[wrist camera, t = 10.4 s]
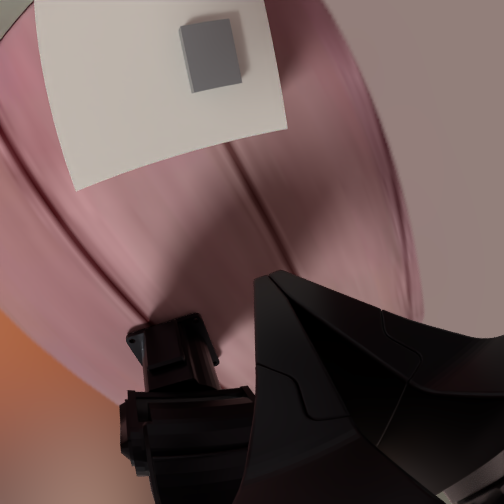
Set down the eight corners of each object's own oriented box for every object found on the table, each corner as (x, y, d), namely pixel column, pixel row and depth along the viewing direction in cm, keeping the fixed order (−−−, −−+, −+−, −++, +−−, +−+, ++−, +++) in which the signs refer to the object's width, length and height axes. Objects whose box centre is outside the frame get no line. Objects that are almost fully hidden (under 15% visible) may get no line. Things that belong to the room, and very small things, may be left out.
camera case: (250, 121, 18) (295, 130, 12) (96, 166, 16) (71, 196, 11) (209, -73, 10) (236, -122, 4) (58, -37, 8) (32, -79, 3)
